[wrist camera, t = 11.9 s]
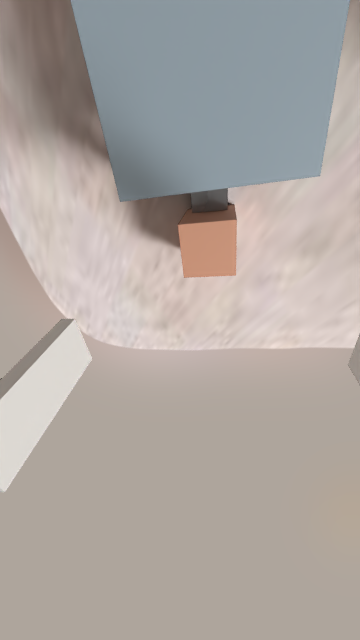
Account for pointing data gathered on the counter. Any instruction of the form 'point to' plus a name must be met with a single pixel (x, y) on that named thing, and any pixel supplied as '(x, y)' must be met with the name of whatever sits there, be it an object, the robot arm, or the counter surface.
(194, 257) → the block
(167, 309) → the counter surface
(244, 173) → the blue toy stool
